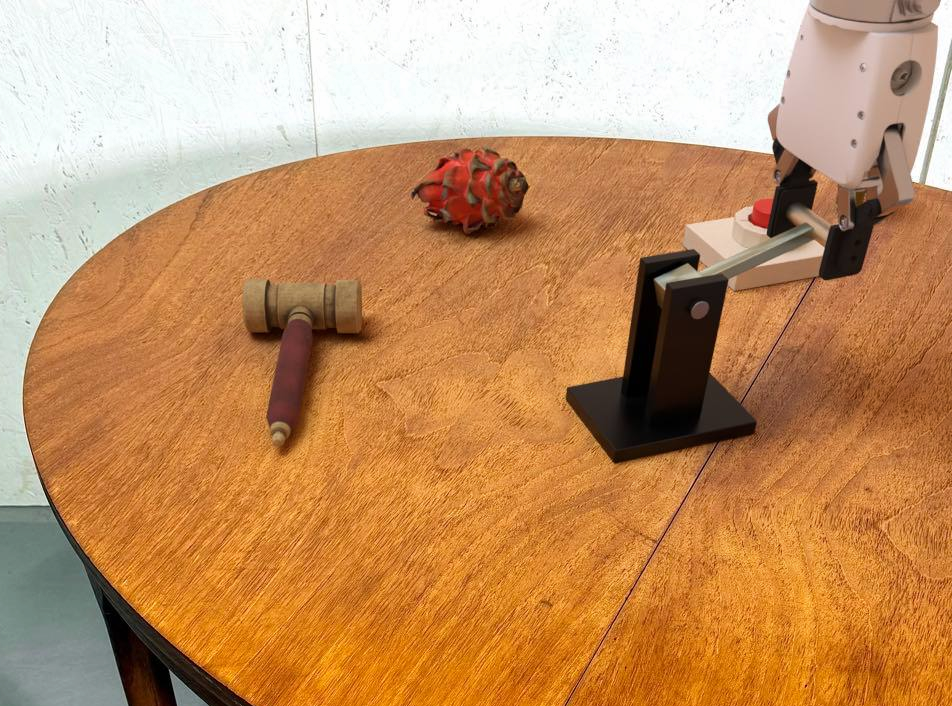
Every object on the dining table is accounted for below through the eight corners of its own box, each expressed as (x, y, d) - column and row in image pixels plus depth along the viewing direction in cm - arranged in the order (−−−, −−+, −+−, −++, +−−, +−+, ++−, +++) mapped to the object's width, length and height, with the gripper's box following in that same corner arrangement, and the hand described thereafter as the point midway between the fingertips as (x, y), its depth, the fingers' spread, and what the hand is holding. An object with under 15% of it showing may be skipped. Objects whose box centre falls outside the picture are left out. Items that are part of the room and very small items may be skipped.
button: (775, 213, 103) (779, 196, 102) (796, 228, 101) (800, 211, 100) (742, 218, 103) (746, 201, 101) (763, 234, 100) (766, 216, 99)
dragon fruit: (534, 243, 110) (420, 257, 112) (528, 170, 112) (416, 185, 114) (531, 201, 102) (408, 217, 104) (524, 122, 104) (403, 139, 106)
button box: (786, 228, 109) (795, 190, 106) (844, 271, 102) (855, 232, 99) (682, 245, 106) (688, 207, 104) (733, 291, 99) (742, 251, 97)
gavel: (341, 421, 78) (207, 419, 79) (345, 467, 82) (216, 466, 82) (360, 269, 93) (247, 268, 93) (363, 314, 96) (253, 313, 97)
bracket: (697, 373, 89) (725, 229, 80) (754, 433, 82) (792, 284, 74) (565, 399, 86) (580, 253, 78) (613, 463, 80) (636, 311, 71)
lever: (802, 220, 80) (801, 192, 78) (850, 255, 76) (850, 226, 74) (645, 293, 80) (641, 266, 78) (684, 332, 76) (680, 305, 74)
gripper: (1023, 21, 61) (930, 300, 73) (845, -49, 73) (791, 200, 86) (911, 37, 60) (836, 320, 72) (748, -37, 72) (707, 215, 84)
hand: (812, 252), depth 78 cm, fingers closed on lever, 6 cm apart
